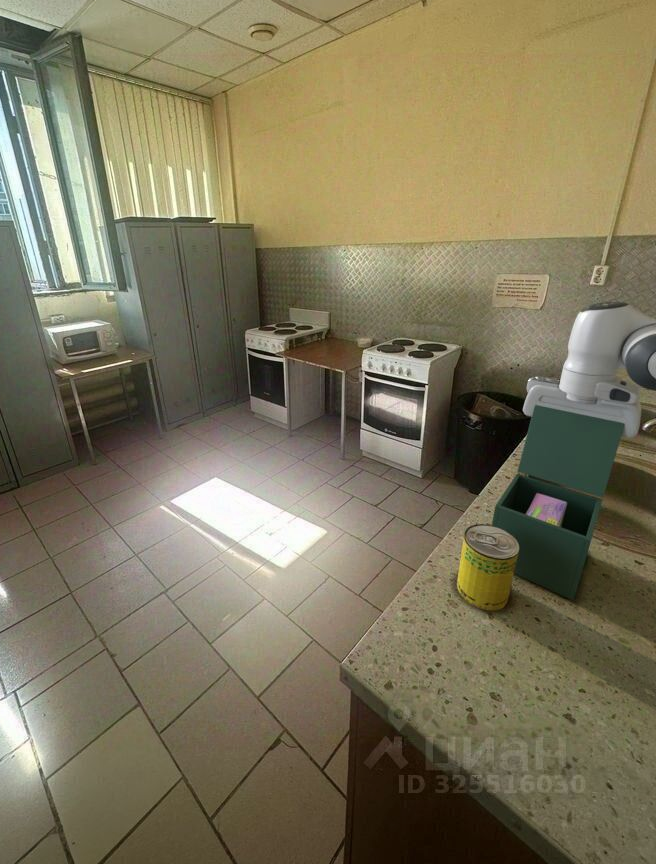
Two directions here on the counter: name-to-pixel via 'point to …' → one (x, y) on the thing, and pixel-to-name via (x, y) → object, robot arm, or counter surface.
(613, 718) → the counter surface
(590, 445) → the lid
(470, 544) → the yellow tin can
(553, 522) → the box
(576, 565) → the chest
